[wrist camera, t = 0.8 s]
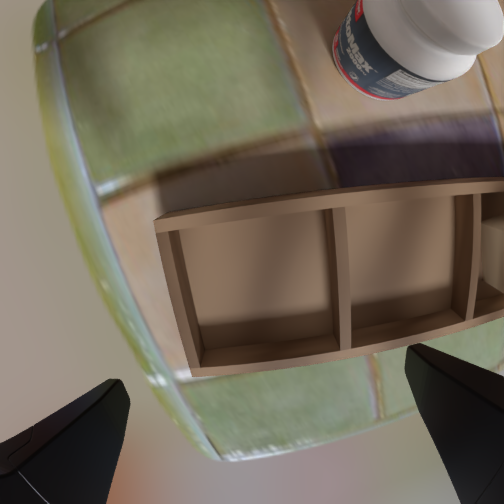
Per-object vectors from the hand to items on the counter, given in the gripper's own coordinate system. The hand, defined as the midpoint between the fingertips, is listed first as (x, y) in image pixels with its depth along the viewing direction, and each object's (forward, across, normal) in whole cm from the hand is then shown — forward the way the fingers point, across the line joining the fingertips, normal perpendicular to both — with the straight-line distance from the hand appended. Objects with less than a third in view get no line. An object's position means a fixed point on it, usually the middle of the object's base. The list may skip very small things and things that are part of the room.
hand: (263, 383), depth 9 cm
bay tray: (+9, -8, 0) cm, 12 cm away
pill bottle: (+9, -8, -12) cm, 17 cm away
